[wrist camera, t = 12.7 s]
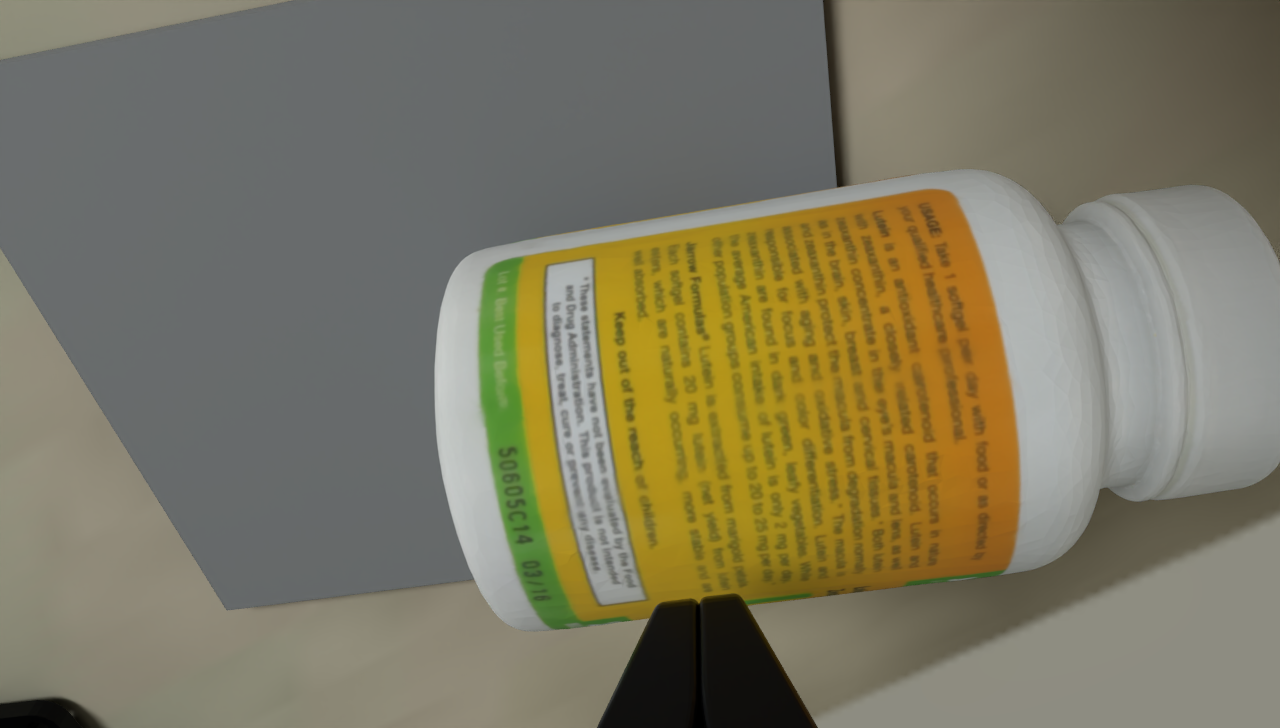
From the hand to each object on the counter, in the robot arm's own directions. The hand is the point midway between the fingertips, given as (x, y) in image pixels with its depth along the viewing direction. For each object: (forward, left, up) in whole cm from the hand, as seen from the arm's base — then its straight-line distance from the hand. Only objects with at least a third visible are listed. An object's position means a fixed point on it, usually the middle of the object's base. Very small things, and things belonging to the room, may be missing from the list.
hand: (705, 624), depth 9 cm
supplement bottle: (0, +3, -4) cm, 5 cm away
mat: (0, +4, -7) cm, 8 cm away
